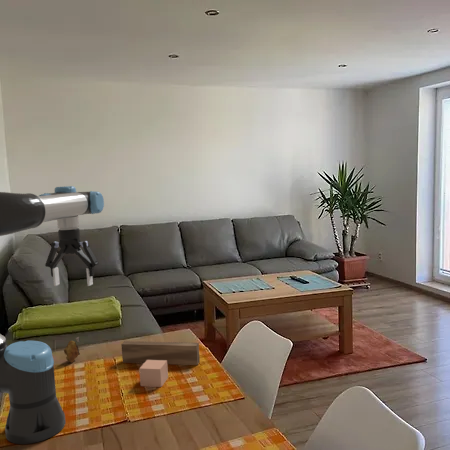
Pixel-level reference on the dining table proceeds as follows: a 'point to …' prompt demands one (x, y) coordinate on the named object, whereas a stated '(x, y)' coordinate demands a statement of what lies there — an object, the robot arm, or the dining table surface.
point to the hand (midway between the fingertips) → (73, 285)
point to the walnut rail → (161, 352)
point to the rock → (72, 350)
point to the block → (153, 373)
